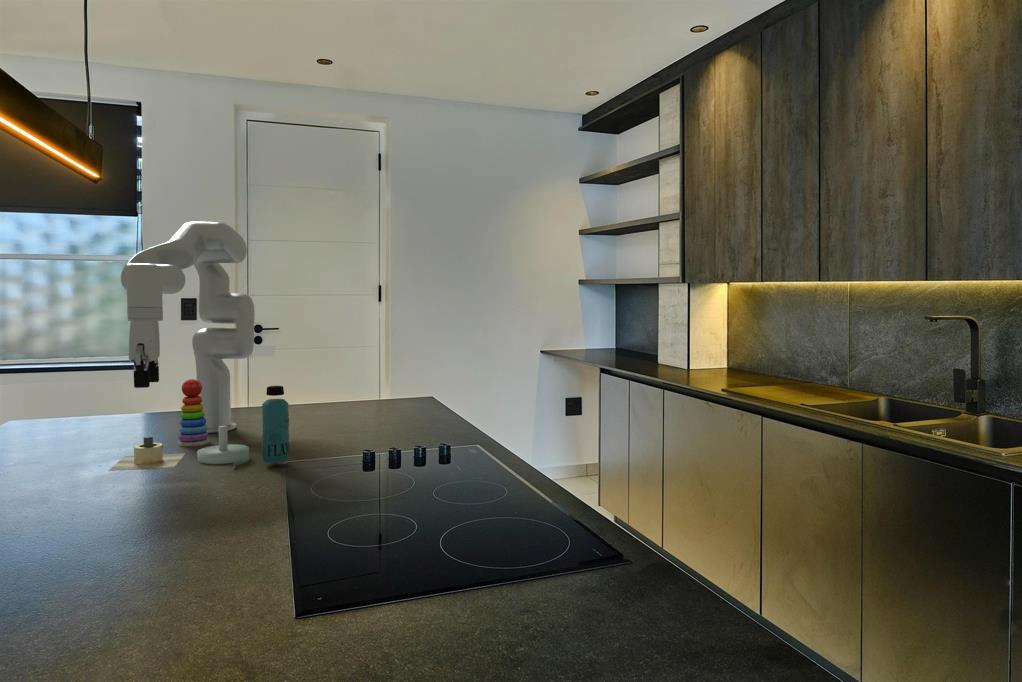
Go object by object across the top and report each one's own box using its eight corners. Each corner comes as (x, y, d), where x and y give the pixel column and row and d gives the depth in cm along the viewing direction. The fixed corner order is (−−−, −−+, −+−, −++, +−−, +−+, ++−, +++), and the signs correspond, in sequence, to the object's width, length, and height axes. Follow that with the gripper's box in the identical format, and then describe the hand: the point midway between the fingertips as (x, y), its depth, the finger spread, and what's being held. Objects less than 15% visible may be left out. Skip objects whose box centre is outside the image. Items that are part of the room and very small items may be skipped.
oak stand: (125, 460, 166) (124, 432, 166) (185, 456, 170) (185, 430, 169) (108, 474, 153) (107, 445, 152) (174, 471, 157) (173, 442, 156)
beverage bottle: (263, 470, 159) (262, 388, 157) (260, 463, 165) (259, 384, 163) (291, 467, 162) (291, 387, 160) (287, 461, 168) (286, 383, 166)
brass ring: (138, 459, 163) (137, 443, 163) (165, 457, 165) (164, 442, 165) (131, 465, 158) (131, 449, 157) (159, 463, 159) (159, 447, 159)
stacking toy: (215, 443, 185) (214, 378, 184) (199, 450, 177) (197, 381, 176) (189, 442, 186) (187, 377, 184) (171, 449, 178) (170, 380, 177)
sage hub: (201, 456, 170) (201, 422, 170) (251, 454, 174) (250, 421, 173) (193, 469, 159) (192, 432, 158) (246, 466, 162) (245, 430, 161)
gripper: (137, 313, 166) (139, 380, 167) (117, 315, 149) (119, 390, 150) (170, 313, 168) (171, 379, 169) (154, 316, 151) (155, 389, 153)
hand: (146, 384), depth 160 cm, fingers open, 9 cm apart
